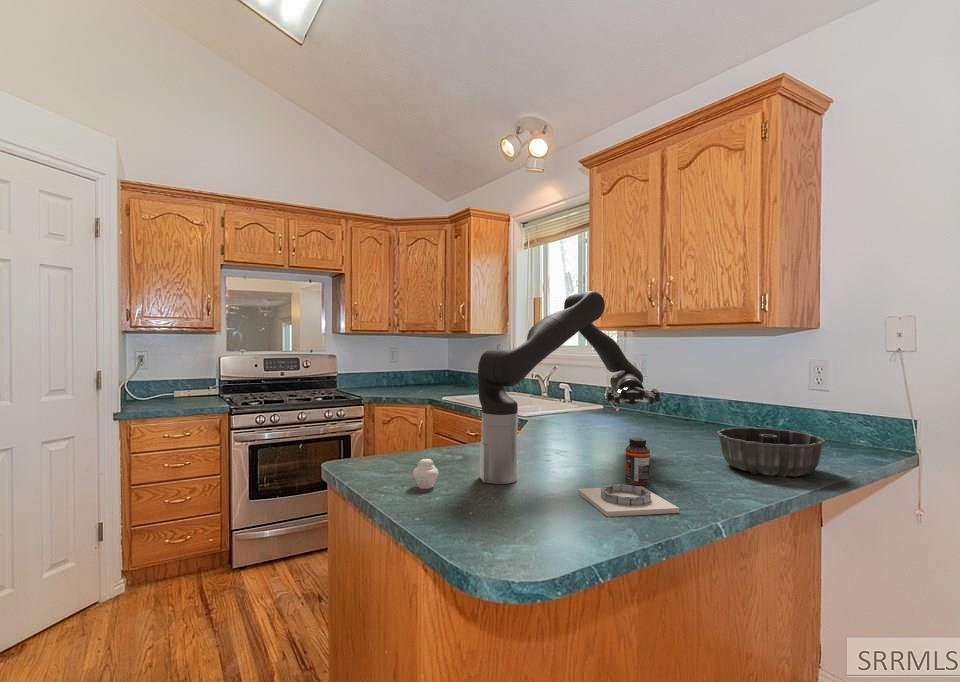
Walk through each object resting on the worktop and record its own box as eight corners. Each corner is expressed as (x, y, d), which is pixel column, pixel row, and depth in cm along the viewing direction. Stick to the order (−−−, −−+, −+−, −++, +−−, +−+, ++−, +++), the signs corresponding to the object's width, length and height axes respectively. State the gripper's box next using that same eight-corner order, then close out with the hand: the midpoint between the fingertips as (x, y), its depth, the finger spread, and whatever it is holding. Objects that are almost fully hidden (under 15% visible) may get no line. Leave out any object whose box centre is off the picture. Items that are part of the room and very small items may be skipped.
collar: (613, 506, 105) (613, 499, 105) (593, 491, 115) (593, 485, 115) (659, 504, 107) (660, 497, 107) (636, 490, 117) (636, 483, 117)
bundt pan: (766, 485, 126) (766, 446, 126) (697, 461, 152) (697, 428, 152) (849, 480, 132) (850, 442, 132) (770, 457, 158) (770, 426, 158)
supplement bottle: (621, 480, 129) (621, 436, 129) (643, 479, 130) (644, 436, 130) (630, 486, 123) (630, 440, 123) (653, 486, 124) (654, 440, 124)
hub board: (606, 516, 102) (606, 511, 102) (578, 493, 118) (578, 488, 118) (679, 512, 104) (679, 508, 104) (641, 490, 120) (641, 486, 120)
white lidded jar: (413, 483, 124) (413, 455, 124) (438, 483, 125) (438, 455, 125) (412, 491, 118) (412, 461, 118) (438, 490, 119) (438, 460, 119)
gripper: (605, 377, 153) (607, 386, 137) (654, 377, 150) (662, 386, 134) (606, 401, 154) (607, 413, 138) (655, 401, 151) (662, 414, 135)
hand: (634, 400), depth 136 cm, fingers open, 8 cm apart
